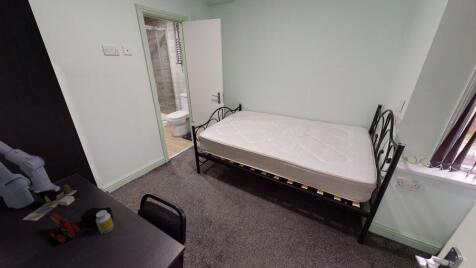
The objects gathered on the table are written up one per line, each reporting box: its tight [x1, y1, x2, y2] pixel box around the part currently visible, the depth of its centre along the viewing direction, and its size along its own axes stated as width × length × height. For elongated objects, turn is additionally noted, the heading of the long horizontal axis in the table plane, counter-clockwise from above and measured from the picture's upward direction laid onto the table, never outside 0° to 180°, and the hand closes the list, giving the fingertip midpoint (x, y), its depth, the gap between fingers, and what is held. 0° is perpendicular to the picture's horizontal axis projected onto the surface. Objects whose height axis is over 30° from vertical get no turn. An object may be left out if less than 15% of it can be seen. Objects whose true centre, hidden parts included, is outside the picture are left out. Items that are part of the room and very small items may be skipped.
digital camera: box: [80, 206, 114, 228], centre depth 85 cm, size 10×5×7 cm, turn 101°
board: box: [21, 189, 78, 222], centre depth 96 cm, size 8×22×1 cm, turn 176°
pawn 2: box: [61, 184, 73, 195], centre depth 102 cm, size 4×4×6 cm
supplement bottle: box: [96, 210, 115, 235], centre depth 81 cm, size 5×5×10 cm
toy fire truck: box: [49, 212, 81, 244], centre depth 78 cm, size 7×12×10 cm, turn 67°
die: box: [59, 195, 76, 206], centre depth 96 cm, size 4×4×4 cm
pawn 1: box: [44, 195, 56, 205], centre depth 94 cm, size 4×4×6 cm
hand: (51, 200), depth 94 cm, fingers closed on pawn 1, 3 cm apart
